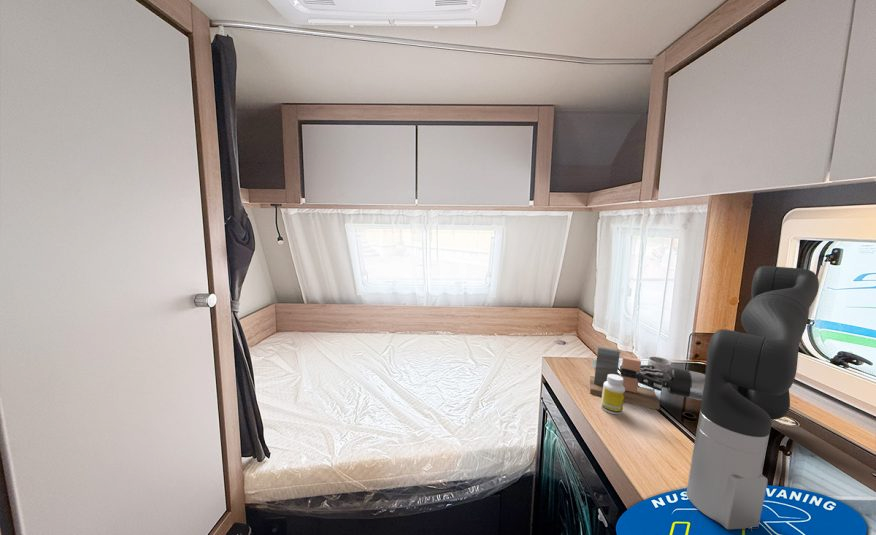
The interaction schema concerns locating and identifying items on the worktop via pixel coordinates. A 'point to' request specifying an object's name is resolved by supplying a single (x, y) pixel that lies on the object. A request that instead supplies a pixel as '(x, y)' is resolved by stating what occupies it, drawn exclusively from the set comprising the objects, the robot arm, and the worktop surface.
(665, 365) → the mug
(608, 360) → the stand
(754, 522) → the robot arm
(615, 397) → the supplement bottle
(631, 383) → the orange rectangular block
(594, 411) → the worktop surface
